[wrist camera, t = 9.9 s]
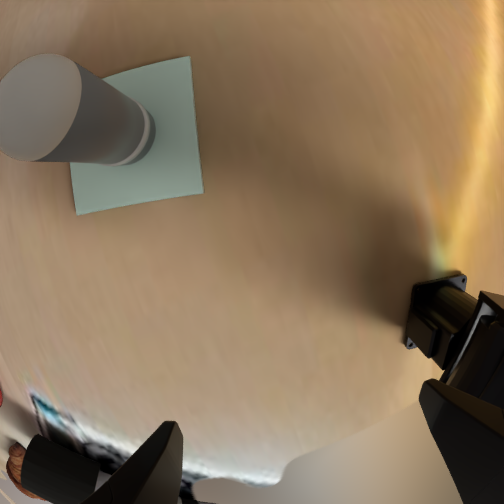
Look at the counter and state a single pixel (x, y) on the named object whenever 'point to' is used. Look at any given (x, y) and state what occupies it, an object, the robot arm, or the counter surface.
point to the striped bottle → (63, 474)
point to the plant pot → (1, 398)
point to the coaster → (162, 151)
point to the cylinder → (69, 116)
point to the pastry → (17, 468)
